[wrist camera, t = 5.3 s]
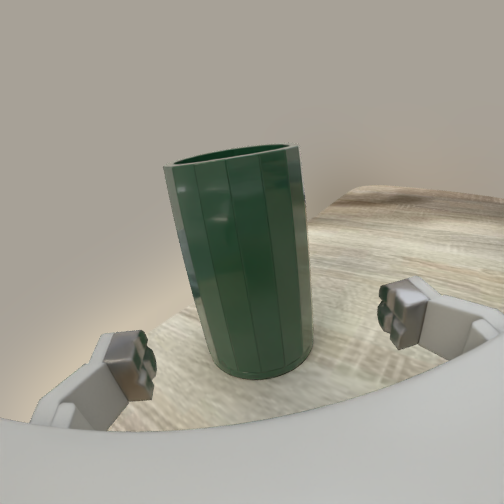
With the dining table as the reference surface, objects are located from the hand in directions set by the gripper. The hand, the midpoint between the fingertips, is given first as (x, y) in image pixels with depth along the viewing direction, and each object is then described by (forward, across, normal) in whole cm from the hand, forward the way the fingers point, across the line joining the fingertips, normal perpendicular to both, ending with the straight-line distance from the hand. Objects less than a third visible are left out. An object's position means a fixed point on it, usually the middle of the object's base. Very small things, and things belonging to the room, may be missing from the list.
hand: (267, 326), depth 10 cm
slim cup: (+8, 0, +7) cm, 10 cm away
